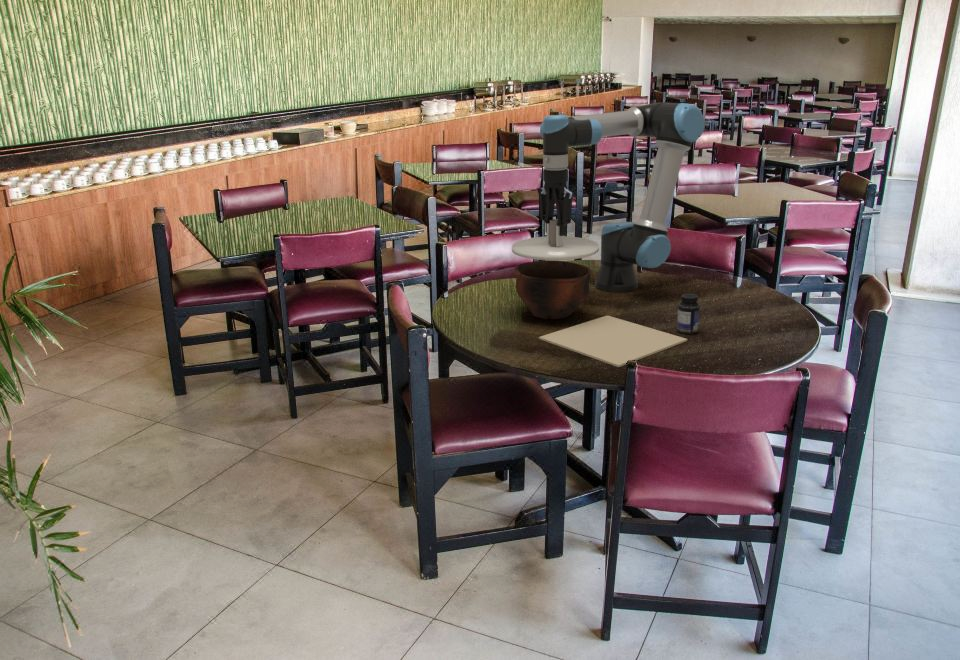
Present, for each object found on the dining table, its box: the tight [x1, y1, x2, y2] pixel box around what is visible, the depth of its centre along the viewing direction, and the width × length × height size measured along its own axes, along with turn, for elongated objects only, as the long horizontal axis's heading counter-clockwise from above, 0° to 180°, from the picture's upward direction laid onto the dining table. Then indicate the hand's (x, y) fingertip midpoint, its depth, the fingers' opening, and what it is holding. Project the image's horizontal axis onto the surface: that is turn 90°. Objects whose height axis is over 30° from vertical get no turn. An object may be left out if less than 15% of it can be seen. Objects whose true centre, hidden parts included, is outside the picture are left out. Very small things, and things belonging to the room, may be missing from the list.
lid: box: [511, 218, 600, 261], centre depth 237 cm, size 27×27×9 cm
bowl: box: [514, 260, 593, 320], centre depth 242 cm, size 25×25×15 cm
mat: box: [538, 315, 688, 368], centre depth 221 cm, size 30×30×1 cm
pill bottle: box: [676, 293, 700, 335], centre depth 225 cm, size 6×6×11 cm
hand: (555, 244), depth 238 cm, fingers closed on lid, 3 cm apart
